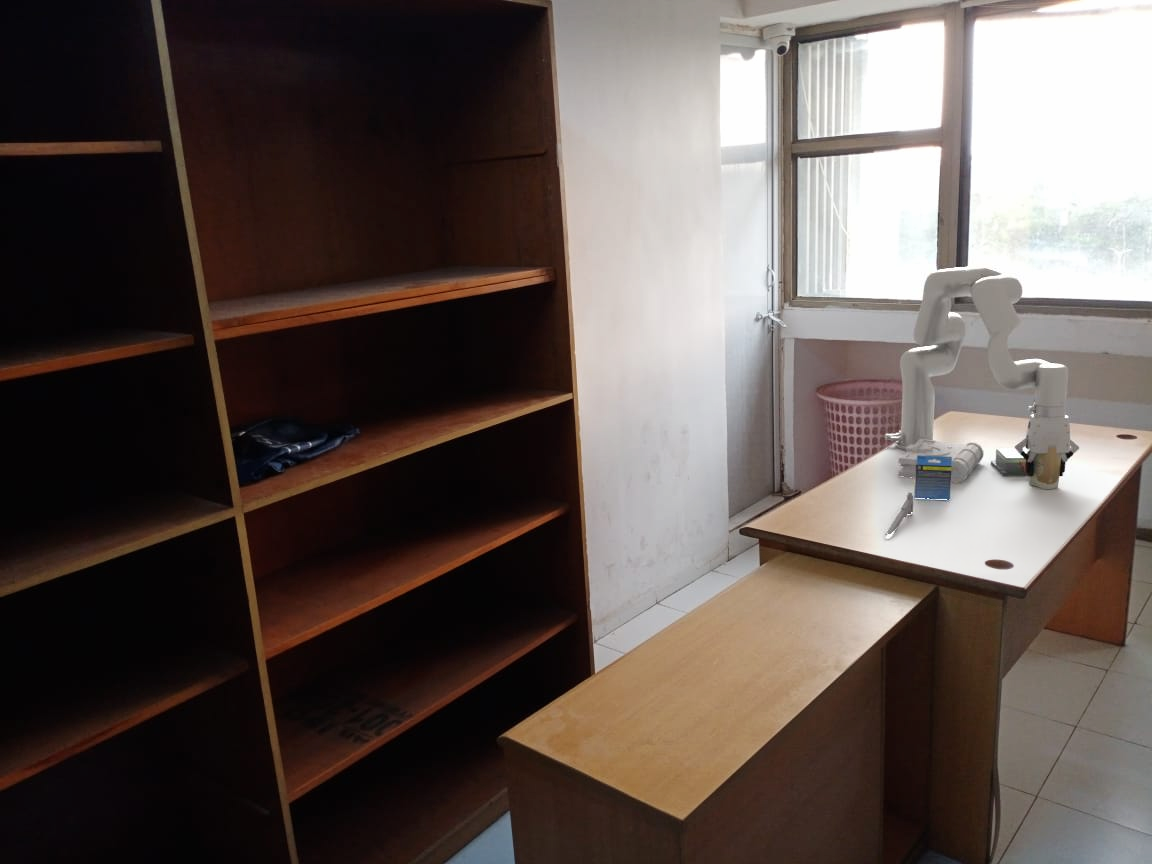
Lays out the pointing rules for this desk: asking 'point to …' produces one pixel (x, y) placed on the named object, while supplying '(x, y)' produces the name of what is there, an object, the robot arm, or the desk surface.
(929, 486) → the label tape box
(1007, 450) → the grey piece
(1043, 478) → the skincare box
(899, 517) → the caliper
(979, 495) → the desk surface
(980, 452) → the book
